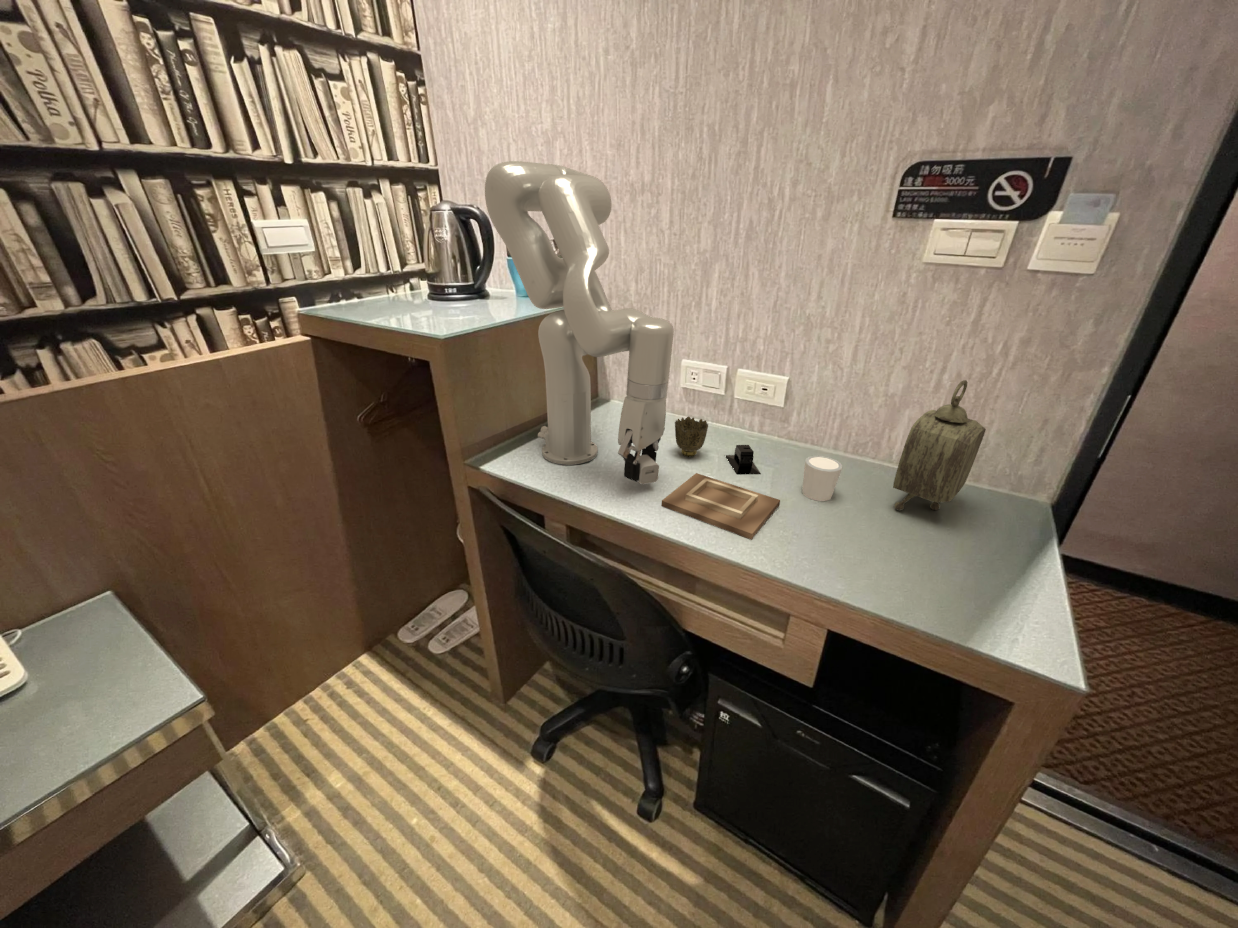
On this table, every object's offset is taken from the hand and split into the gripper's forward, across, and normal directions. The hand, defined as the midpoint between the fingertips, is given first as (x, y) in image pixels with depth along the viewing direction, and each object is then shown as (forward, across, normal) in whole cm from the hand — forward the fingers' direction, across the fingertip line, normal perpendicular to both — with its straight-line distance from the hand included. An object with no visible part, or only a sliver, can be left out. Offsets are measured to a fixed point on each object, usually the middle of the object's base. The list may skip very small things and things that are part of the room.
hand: (639, 472), depth 102 cm
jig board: (+2, -3, +17) cm, 17 cm away
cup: (+3, -19, +1) cm, 19 cm away
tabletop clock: (+1, -27, +48) cm, 55 cm away
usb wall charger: (+1, 0, 0) cm, 1 cm away
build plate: (+3, -22, +13) cm, 26 cm away
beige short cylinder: (+2, -19, +30) cm, 36 cm away
